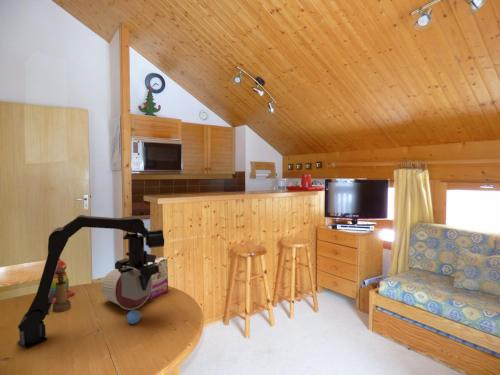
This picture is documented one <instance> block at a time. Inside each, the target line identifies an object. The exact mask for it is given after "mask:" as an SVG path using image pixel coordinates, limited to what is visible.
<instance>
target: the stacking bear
mask: <svg viewBox="0 0 500 375" xmlns="http://www.w3.org/2000/svg"><path fill="white" fill-rule="evenodd" d="M58 267H63V268H64V270H65V271H64V273H63V277H64V280H63V282H66V283H67V299H68V298H71V297H73V296H75V292H74V290H69V285H70V281H69V277H68V274H67V272H66V269H67V264H66V262H64V261H63V260H62V259H61V258H60V259H59V262H58V266H57V268H58ZM56 270H57V269H56ZM58 277H59V275H58V274H57V272H55V276H54V279H53V283H52V286H51V290H50V297H54V299H53V301H52V304H54V303H55V302H56V283H58V282H59V281H58Z"/></svg>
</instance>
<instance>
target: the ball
mask: <svg viewBox="0 0 500 375" xmlns="http://www.w3.org/2000/svg"><path fill="white" fill-rule="evenodd" d="M141 316H142V315H141V312H140V311H139V310H137V309H134V310H129V312H128V313H127V315H126V320H127V323H129V324H130V325H133V324H136V323H138V322H139V321H140V320H141Z"/></svg>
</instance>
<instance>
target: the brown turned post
mask: <svg viewBox="0 0 500 375" xmlns="http://www.w3.org/2000/svg"><path fill="white" fill-rule="evenodd" d="M64 271H65V272H66V269H65V270H64V268H63V267H58V268H57V270H56V272H57V274H58V275H59V277H58V281H59V282H58V283H56V302H55V303H52V311H53V312H54V313H55V312H56V313H61V312H65V311H67V310H69V309H71V307H72V304H71V303H72V302H71V300H69V299H68V298H67V283H66V282H63V280H64V277H63V273H64Z"/></svg>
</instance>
